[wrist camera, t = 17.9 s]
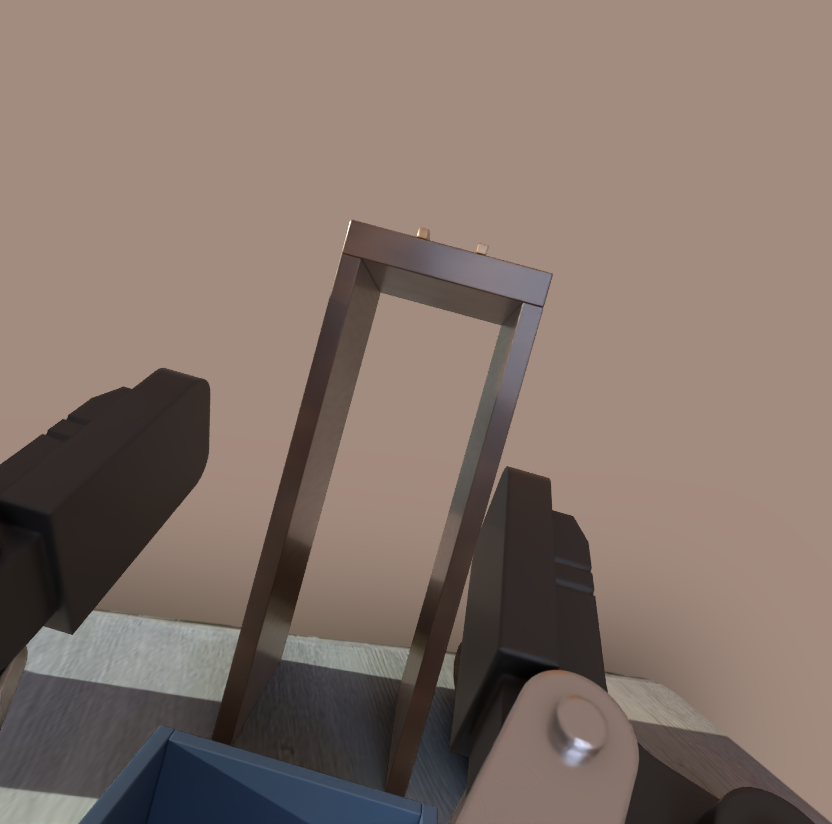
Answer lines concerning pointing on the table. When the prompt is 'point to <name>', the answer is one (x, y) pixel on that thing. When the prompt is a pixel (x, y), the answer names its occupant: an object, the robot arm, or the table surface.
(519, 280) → the stand
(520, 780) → the robot arm
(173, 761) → the bin
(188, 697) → the table surface
